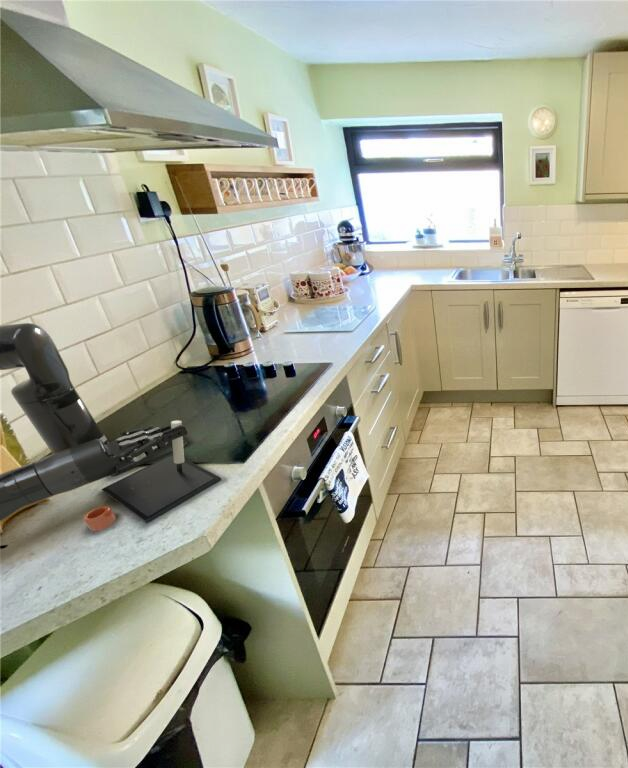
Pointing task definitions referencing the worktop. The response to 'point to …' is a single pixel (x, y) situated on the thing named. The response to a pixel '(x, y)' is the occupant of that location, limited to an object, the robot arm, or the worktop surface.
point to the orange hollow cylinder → (99, 518)
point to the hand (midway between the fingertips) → (184, 427)
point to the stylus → (178, 447)
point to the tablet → (160, 487)
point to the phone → (131, 464)
